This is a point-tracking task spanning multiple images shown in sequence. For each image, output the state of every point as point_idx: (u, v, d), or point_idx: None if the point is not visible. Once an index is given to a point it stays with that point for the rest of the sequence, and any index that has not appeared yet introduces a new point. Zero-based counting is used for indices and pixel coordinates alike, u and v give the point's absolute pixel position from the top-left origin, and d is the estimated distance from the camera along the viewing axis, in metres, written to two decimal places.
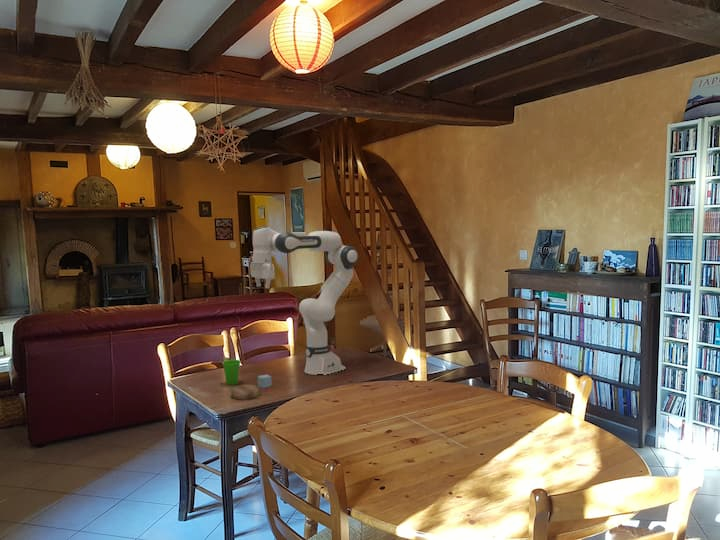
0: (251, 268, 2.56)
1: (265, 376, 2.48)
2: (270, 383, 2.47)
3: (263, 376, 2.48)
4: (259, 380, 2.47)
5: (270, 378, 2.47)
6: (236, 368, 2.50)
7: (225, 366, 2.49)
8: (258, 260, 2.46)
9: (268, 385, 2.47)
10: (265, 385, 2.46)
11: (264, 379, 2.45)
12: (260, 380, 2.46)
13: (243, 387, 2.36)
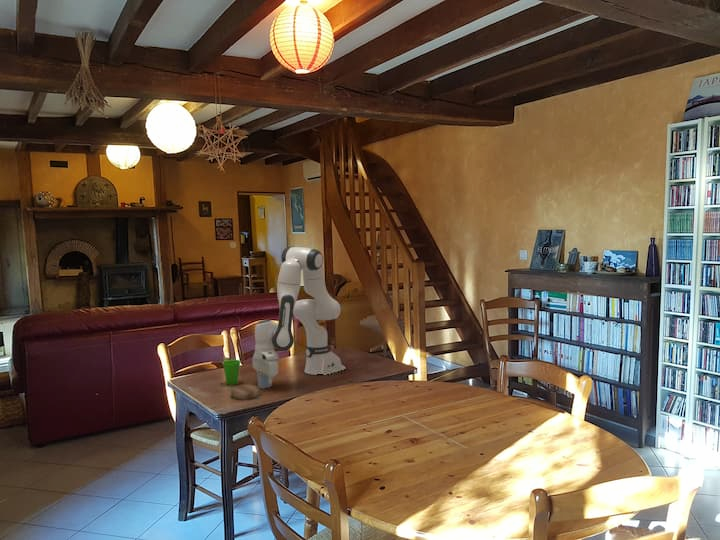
0: None
1: (265, 376, 2.48)
2: None
3: (263, 376, 2.48)
4: (259, 380, 2.47)
5: None
6: (236, 368, 2.50)
7: (225, 366, 2.49)
8: None
9: (268, 385, 2.47)
10: (265, 385, 2.46)
11: (264, 379, 2.45)
12: (260, 380, 2.46)
13: (243, 387, 2.36)
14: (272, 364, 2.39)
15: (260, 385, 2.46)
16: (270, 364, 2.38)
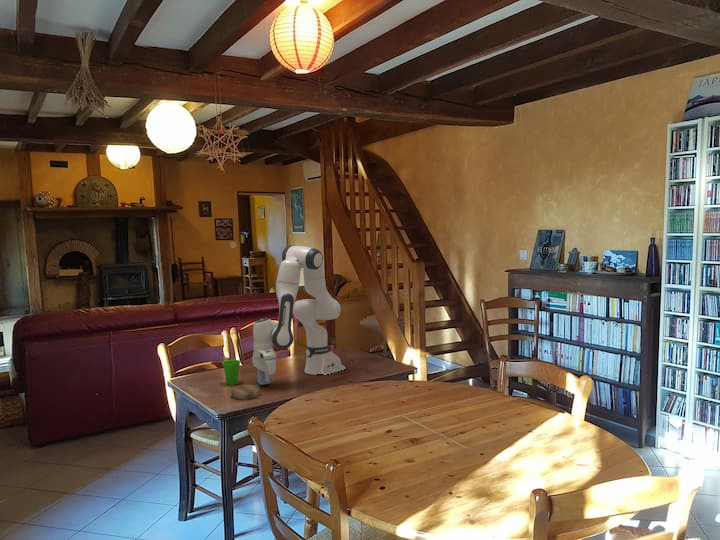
0: None
1: (264, 372, 2.49)
2: (269, 379, 2.48)
3: (262, 372, 2.49)
4: (258, 376, 2.48)
5: None
6: (236, 368, 2.50)
7: (225, 366, 2.49)
8: None
9: (267, 381, 2.48)
10: (264, 381, 2.47)
11: (263, 375, 2.46)
12: (259, 376, 2.47)
13: (243, 387, 2.36)
14: (270, 363, 2.40)
15: (259, 381, 2.47)
16: (267, 363, 2.39)
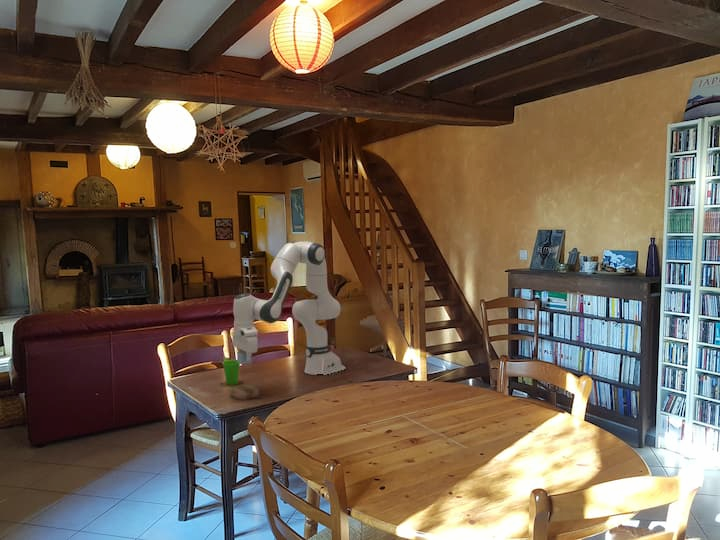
0: None
1: (245, 352, 2.33)
2: (250, 359, 2.33)
3: (243, 352, 2.33)
4: (238, 356, 2.32)
5: None
6: (236, 368, 2.50)
7: (225, 366, 2.49)
8: None
9: (248, 361, 2.32)
10: (245, 361, 2.31)
11: (244, 355, 2.31)
12: (239, 356, 2.31)
13: (243, 387, 2.36)
14: (251, 341, 2.25)
15: (240, 361, 2.32)
16: (249, 340, 2.24)
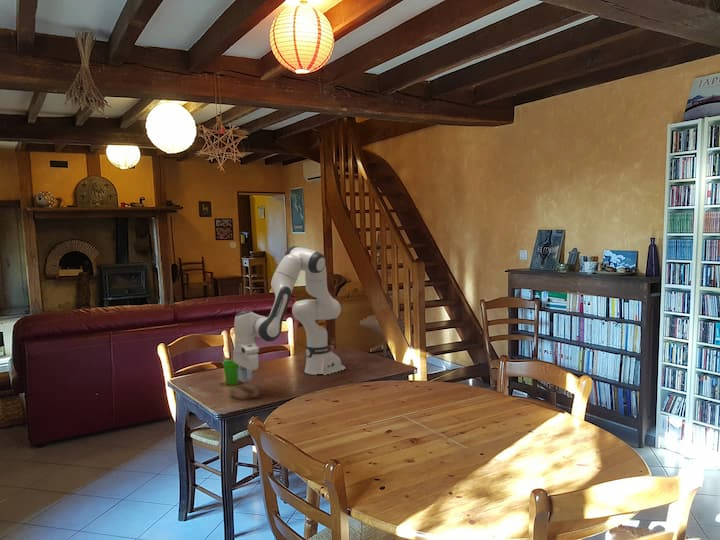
0: None
1: None
2: (251, 376, 2.33)
3: (243, 369, 2.33)
4: (239, 373, 2.33)
5: None
6: (236, 368, 2.50)
7: (225, 366, 2.49)
8: None
9: (249, 378, 2.32)
10: (246, 378, 2.31)
11: (244, 372, 2.31)
12: (240, 373, 2.32)
13: (243, 387, 2.36)
14: (252, 358, 2.25)
15: (240, 378, 2.32)
16: (250, 358, 2.25)
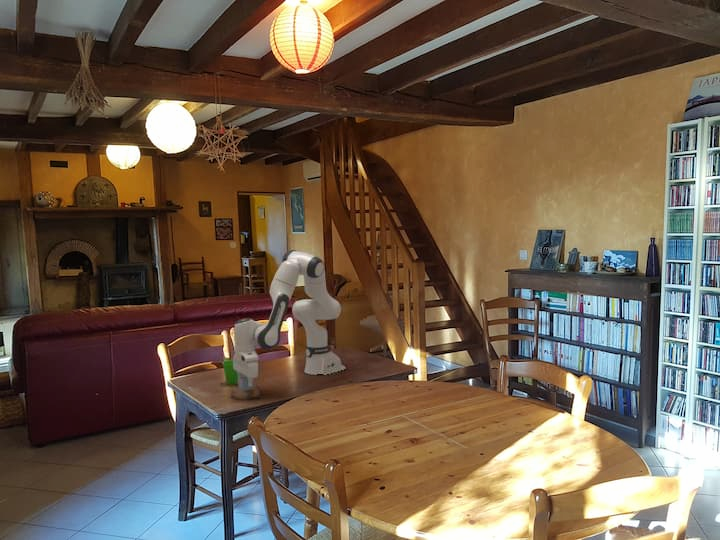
0: None
1: (246, 378, 2.34)
2: None
3: (244, 378, 2.34)
4: (239, 382, 2.33)
5: None
6: None
7: (225, 366, 2.49)
8: None
9: (249, 387, 2.33)
10: (246, 387, 2.32)
11: (244, 381, 2.32)
12: (240, 382, 2.32)
13: None
14: (252, 366, 2.26)
15: (240, 387, 2.33)
16: (249, 366, 2.25)
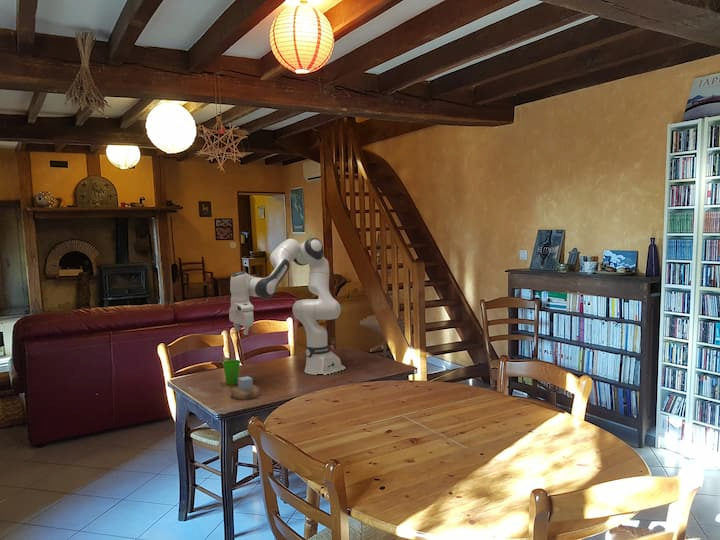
0: None
1: (246, 378, 2.34)
2: (251, 385, 2.34)
3: (244, 378, 2.34)
4: (239, 382, 2.33)
5: (251, 380, 2.34)
6: (236, 368, 2.50)
7: (225, 366, 2.49)
8: None
9: (249, 387, 2.33)
10: (246, 387, 2.32)
11: (244, 381, 2.32)
12: (240, 382, 2.32)
13: None
14: (248, 315, 2.41)
15: (240, 387, 2.33)
16: (245, 315, 2.40)
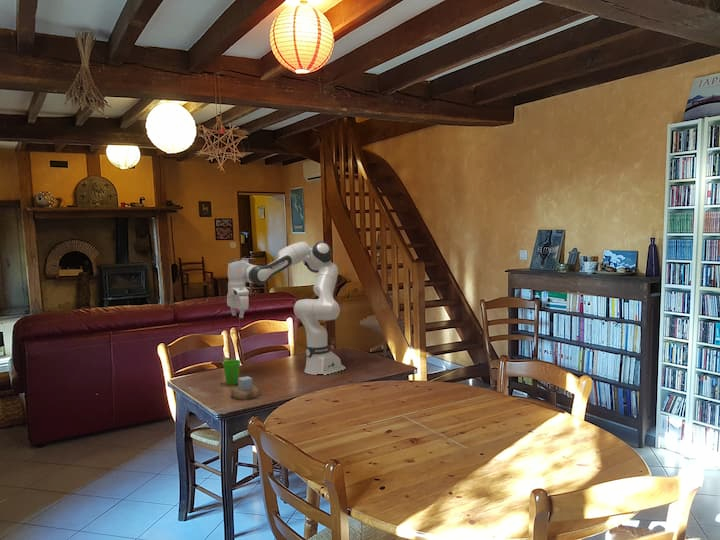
0: None
1: (246, 378, 2.34)
2: (251, 385, 2.34)
3: (244, 378, 2.34)
4: (239, 382, 2.33)
5: (251, 380, 2.34)
6: (236, 368, 2.50)
7: (225, 366, 2.49)
8: None
9: (249, 387, 2.33)
10: (246, 387, 2.32)
11: (244, 381, 2.32)
12: (240, 382, 2.32)
13: None
14: (243, 299, 2.57)
15: (240, 387, 2.33)
16: (241, 299, 2.56)
